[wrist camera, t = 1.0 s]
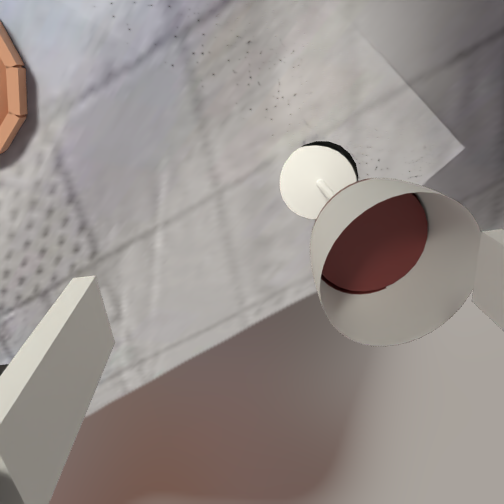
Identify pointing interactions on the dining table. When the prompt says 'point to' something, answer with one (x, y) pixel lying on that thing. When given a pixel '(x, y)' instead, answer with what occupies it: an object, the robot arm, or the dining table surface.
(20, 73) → the terracotta saucer
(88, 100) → the dining table surface
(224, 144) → the dining table surface
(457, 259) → the wineglass
